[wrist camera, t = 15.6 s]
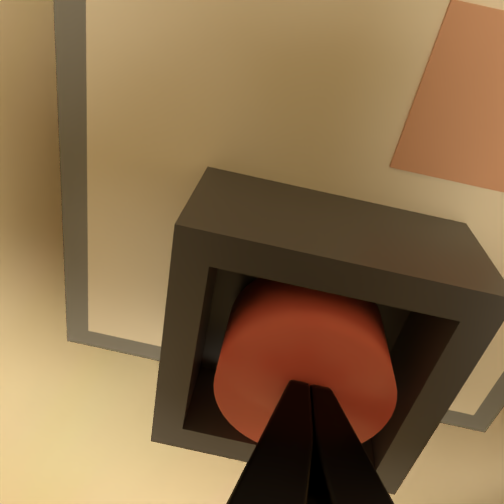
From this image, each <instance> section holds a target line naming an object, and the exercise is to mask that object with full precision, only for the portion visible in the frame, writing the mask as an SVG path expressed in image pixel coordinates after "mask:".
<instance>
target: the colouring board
mask: <svg viewBox="0 0 504 504" xmlns="http://www.w3.org/2000/svg"><path fill="white" fill-rule="evenodd" d="M53 1H54V26H55V50H56V75H57V100H58V124H59V149H60V173H61V198H62V223H63V247H64V272H65V297H66V321H67V341H70V342H75V343H80V344H84V345H89V346H93V347H98V348H102V349H107V350H111V351H116V352H121V353H125V354H130V355H134V356H139V357H143V358H148V359H152V360H157V361H160V353H161V344H162V335H163V325H164V316H165V307H166V298H167V289H168V279H169V270H170V261H171V252H172V243H173V234H174V224H175V222H176V221H177V219H178V217H179V215H180V214H181V212H182V210H183V208H184V207H185V205H186V203H187V202H188V200H189V198H190V196H191V195H192V193H193V191H194V189H195V188H196V186H197V184H198V182H199V181H200V179H201V177H202V175H203V174H204V172H205V170H206V168H207V167H212V168H217V169H221V170H226V171H231V172H235V173H240V174H244V175H249V176H253V177H258V178H262V179H267V180H271V181H276V182H281V183H285V184H290V185H294V186H299V187H303V188H308V189H312V190H317V191H321V192H326V193H331V194H335V195H340V196H344V197H349V198H353V199H358V200H362V201H367V202H372V203H376V204H381V205H385V206H390V207H394V208H399V209H403V210H408V211H412V212H417V213H422V214H426V215H431V216H435V217H440V218H444V219H449V220H453V221H458V222H462V223H466V224H467V225H468V227H469V228H470V230H471V231H472V233H473V234H474V236H475V237H476V239H477V240H478V242H479V243H480V245H481V246H482V248H483V249H484V250H485V252H486V253H487V255H488V256H489V258H490V259H491V261H492V262H493V264H494V265H495V267H496V268H497V270H498V271H499V273H500V274H501V276H502V277H503V279H504V0H53ZM503 407H504V322H503V323H502V325H501V327H500V328H499V330H498V331H497V333H496V335H495V336H494V338H493V339H492V341H491V343H490V344H489V346H488V347H487V349H486V350H485V352H484V354H483V355H482V357H481V358H480V360H479V362H478V363H477V365H476V366H475V368H474V369H473V371H472V373H471V374H470V376H469V377H468V379H467V381H466V382H465V384H464V385H463V387H462V388H461V390H460V392H459V393H458V395H457V396H456V398H455V400H454V401H453V403H452V404H451V406H450V408H449V409H448V411H447V412H446V414H445V415H444V417H443V419H442V420H441V422H440V423H444V424H449V425H453V426H458V427H463V428H467V429H472V430H476V431H481V432H486V430H487V429H488V427H489V426H490V425H491V423H492V422H493V421H494V419H495V418H496V416H497V415H498V414H499V412H500V411H501V410H502V408H503Z"/></svg>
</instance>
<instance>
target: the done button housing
mask: <svg viewBox="0 0 504 504" xmlns="http://www.w3.org/2000/svg"><path fill="white" fill-rule="evenodd" d="M257 278H264V279H268V280H273V281H277V282H282V283H286V284H291V285H295V286H300V287H305V288H309V289H314V290H318V291H323V292H327V293H332V294H336V295H341V296H346V297H350V298H355V299H359V300H364V301H368V302H373V303H376V305H377V306H378V309H379V311H380V314H381V318H382V322H383V327H384V332H385V336H386V341H387V345H388V350H389V354H390V359H391V363H392V368H393V372H394V377H395V381H396V387H397V402H396V406H395V409H394V412H393V414H392V416H391V418H390V419H389V421H388V422H387V424H386V425H385V426H384V427H383V428H382V429H381V430H380V431H379V432H378V433H377V434H376V435H374V436H373V437H372V438H370V439H368V440H367V441H365V442H363V443H361V444H362V446H363V448H364V449H365V451H366V453H367V455H368V457H369V459H370V460H371V462H372V464H373V466H374V468H375V470H376V471H377V473H378V475H379V477H380V479H381V481H382V482H383V484H384V486H385V488H386V490H387V492H388V493H390V494H395V493H396V492H397V490H398V488H399V487H400V485H401V484H402V482H403V480H404V479H405V477H406V476H407V474H408V473H409V471H410V469H411V468H412V466H413V465H414V463H415V461H416V460H417V458H418V457H419V455H420V454H421V452H422V450H423V449H424V447H425V446H426V444H427V442H428V441H429V439H430V438H431V436H432V434H433V433H434V431H435V430H436V428H437V427H438V425H439V423H440V422H441V420H442V419H443V417H444V415H445V414H446V412H447V411H448V409H449V408H450V406H451V404H452V403H453V401H454V400H455V398H456V396H457V395H458V393H459V392H460V390H461V388H462V387H463V385H464V384H465V382H466V381H467V379H468V377H469V376H470V374H471V373H472V371H473V369H474V368H475V366H476V365H477V363H478V362H479V360H480V358H481V357H482V355H483V354H484V352H485V350H486V349H487V347H488V346H489V344H490V343H491V341H492V339H493V338H494V336H495V335H496V333H497V331H498V330H499V328H500V327H501V325H502V323H503V322H504V279H503V277H502V276H501V274H500V273H499V271H498V270H497V268H496V267H495V265H494V264H493V262H492V261H491V259H490V258H489V256H488V255H487V253H486V252H485V250H484V249H483V248H482V246H481V245H480V243H479V242H478V240H477V239H476V237H475V236H474V234H473V233H472V231H471V230H470V228H469V227H468V225H467V224H466V223H462V222H458V221H453V220H449V219H444V218H440V217H435V216H431V215H426V214H422V213H417V212H412V211H408V210H403V209H399V208H394V207H390V206H385V205H381V204H376V203H372V202H367V201H362V200H358V199H353V198H349V197H344V196H340V195H335V194H331V193H326V192H321V191H317V190H312V189H308V188H303V187H299V186H294V185H290V184H285V183H281V182H276V181H271V180H267V179H262V178H258V177H253V176H249V175H244V174H240V173H235V172H231V171H226V170H221V169H217V168H212V167H207V168H206V170H205V172H204V174H203V175H202V177H201V179H200V181H199V182H198V184H197V186H196V188H195V189H194V191H193V193H192V195H191V196H190V198H189V200H188V202H187V203H186V205H185V207H184V208H183V210H182V212H181V214H180V215H179V217H178V219H177V221H176V222H175V224H174V234H173V243H172V252H171V261H170V270H169V279H168V289H167V298H166V307H165V316H164V325H163V335H162V344H161V353H160V362H159V371H158V380H157V390H156V399H155V408H154V417H153V426H152V436H151V441H153V442H157V443H162V444H167V445H171V446H176V447H180V448H185V449H189V450H194V451H198V452H203V453H208V454H212V455H217V456H221V457H226V458H230V459H235V460H240V461H244V462H248V460H249V458H250V456H251V454H252V452H253V450H254V448H255V447H256V445H257V442H255V441H253V440H251V439H249V438H248V437H246V436H244V435H243V434H242V433H240V432H239V431H238V430H236V429H235V428H234V427H233V426H232V425H231V424H230V423H229V422H228V421H227V419H226V418H225V417H224V415H223V414H222V412H221V411H220V409H219V407H218V405H217V402H216V399H215V395H214V377H215V373H216V369H217V365H218V360H219V356H220V352H221V348H222V344H223V340H224V336H225V332H226V328H227V324H228V319H229V315H230V312H231V308H232V306H233V304H234V302H235V300H236V298H237V297H238V295H239V294H240V292H241V291H242V290H243V289H244V288H245V287H246V286H247V285H249V284H250V283H251V282H252V281H254V280H255V279H257Z"/></svg>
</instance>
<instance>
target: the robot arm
mask: <svg viewBox="0 0 504 504" xmlns="http://www.w3.org/2000/svg"><path fill="white" fill-rule="evenodd" d="M226 504H394V503H393V501H392V499H391V497H390V495H389V493H388V492H387V490H386V488H385V486H384V484H383V482H382V481H381V479H380V477H379V475H378V473H377V471H376V470H375V468H374V466H373V464H372V462H371V460H370V459H369V457H368V455H367V453H366V451H365V449H364V448H363V446H362V444H361V442H360V440H359V438H358V437H357V435H356V433H355V431H354V429H353V427H352V426H351V424H350V422H349V420H348V418H347V416H346V415H345V413H344V411H343V409H342V407H341V405H340V404H339V402H338V400H337V398H336V396H335V394H334V393H333V391H332V390H331V389H330V388H328V387H324V386H319V385H315V384H313V385H309V384H308V383H306V382H301V381H296V380H290V381H289V382H288V384H287V386H286V388H285V390H284V392H283V394H282V395H281V397H280V399H279V401H278V403H277V405H276V407H275V409H274V411H273V413H272V415H271V417H270V419H269V421H268V423H267V425H266V427H265V429H264V431H263V433H262V435H261V437H260V439H259V441H258V443H257V445H256V447H255V448H254V450H253V452H252V454H251V456H250V458H249V460H248V462H247V464H246V466H245V468H244V470H243V472H242V474H241V476H240V478H239V480H238V482H237V484H236V486H235V488H234V490H233V492H232V494H231V496H230V498H229V500H228V501H227V503H226Z"/></svg>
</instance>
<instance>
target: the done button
mask: <svg viewBox="0 0 504 504" xmlns="http://www.w3.org/2000/svg"><path fill="white" fill-rule="evenodd" d="M290 380H296V381H301V382H306V383H308V384H309V385H313V384H315V385H319V386H324V387H328V388H330V389H331V390H332V391H333V393H334V394H335V396H336V398H337V400H338V402H339V404H340V405H341V407H342V409H343V411H344V413H345V415H346V416H347V418H348V420H349V422H350V424H351V426H352V427H353V429H354V431H355V433H356V435H357V437H358V438H359V440H360V442H361V443H363V442H365V441H367V440H368V439H370V438H372V437H373V436H374V435H376V434H377V433H378V432H379V431H380V430H381V429H382V428H383V427H384V426H385V425H386V424H387V422H388V421H389V419H390V418H391V416H392V414H393V412H394V409H395V406H396V402H397V387H396V381H395V377H394V372H393V368H392V363H391V359H390V354H389V350H388V345H387V341H386V336H385V332H384V327H383V322H382V318H381V314H380V311H379V309H378V306H377V305H376V303H373V302H368V301H364V300H359V299H355V298H350V297H346V296H341V295H336V294H332V293H327V292H323V291H318V290H314V289H309V288H305V287H300V286H295V285H291V284H286V283H282V282H277V281H273V280H268V279H264V278H257V279H255V280H254V281H252V282H251V283H250V284H249V285H247V286H246V287H245V288H244V289H243V290H242V291H241V292H240V294H239V295H238V297H237V298H236V300H235V302H234V304H233V306H232V308H231V312H230V315H229V319H228V324H227V328H226V332H225V336H224V340H223V344H222V348H221V352H220V356H219V360H218V365H217V369H216V373H215V377H214V395H215V399H216V402H217V405H218V407H219V409H220V411H221V412H222V414H223V415H224V417H225V418H226V419H227V421H228V422H229V423H230V424H231V425H232V426H233V427H234V428H235V429H236V430H238V431H239V432H240V433H242V434H243V435H244V436H246V437H248V438H249V439H251V440H253V441H255V442H257V443H258V441H259V439H260V437H261V435H262V433H263V431H264V429H265V427H266V425H267V423H268V421H269V419H270V417H271V415H272V413H273V411H274V409H275V407H276V405H277V403H278V401H279V399H280V397H281V395H282V394H283V392H284V390H285V388H286V386H287V384H288V382H289V381H290Z"/></svg>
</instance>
